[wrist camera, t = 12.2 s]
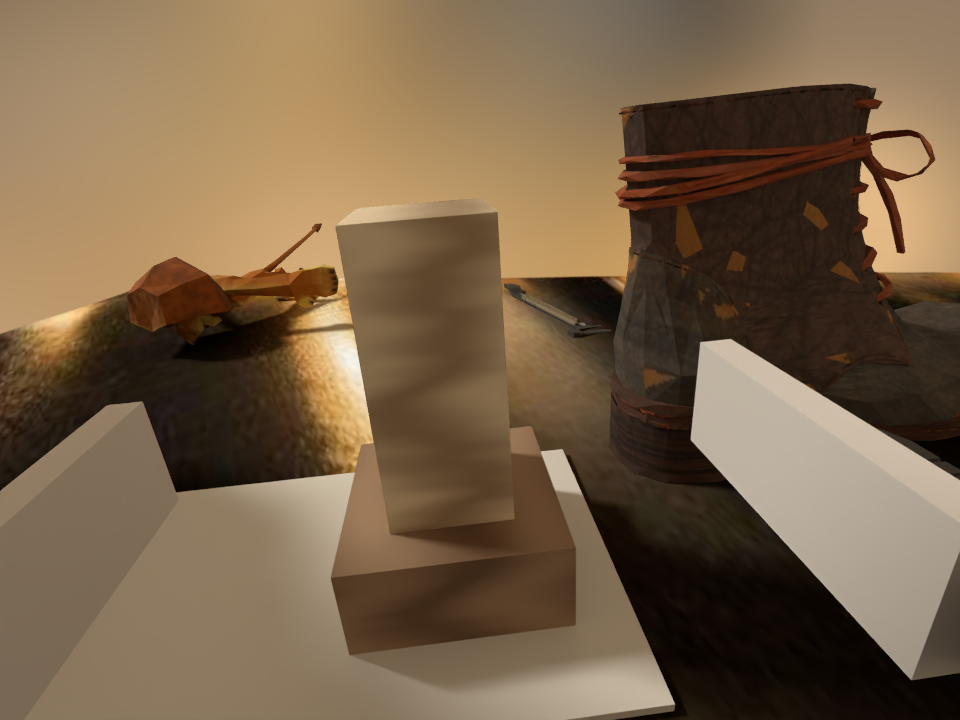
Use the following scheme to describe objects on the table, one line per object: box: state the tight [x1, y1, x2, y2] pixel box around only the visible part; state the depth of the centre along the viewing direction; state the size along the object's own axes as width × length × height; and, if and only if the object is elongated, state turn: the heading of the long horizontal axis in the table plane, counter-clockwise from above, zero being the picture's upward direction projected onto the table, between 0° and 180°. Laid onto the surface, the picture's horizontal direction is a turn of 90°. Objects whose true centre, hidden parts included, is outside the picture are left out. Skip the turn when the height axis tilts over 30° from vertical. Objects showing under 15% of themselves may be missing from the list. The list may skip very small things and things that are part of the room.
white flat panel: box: [24, 449, 675, 720], centre depth 24 cm, size 26×16×1 cm, turn 95°
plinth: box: [331, 426, 576, 655], centre depth 24 cm, size 9×9×4 cm
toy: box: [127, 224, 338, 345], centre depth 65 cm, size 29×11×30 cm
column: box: [336, 198, 515, 534], centre depth 20 cm, size 5×5×12 cm
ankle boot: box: [610, 84, 960, 483], centre depth 31 cm, size 11×31×20 cm, turn 108°
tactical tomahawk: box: [504, 284, 611, 337], centre depth 61 cm, size 21×7×1 cm, turn 20°
